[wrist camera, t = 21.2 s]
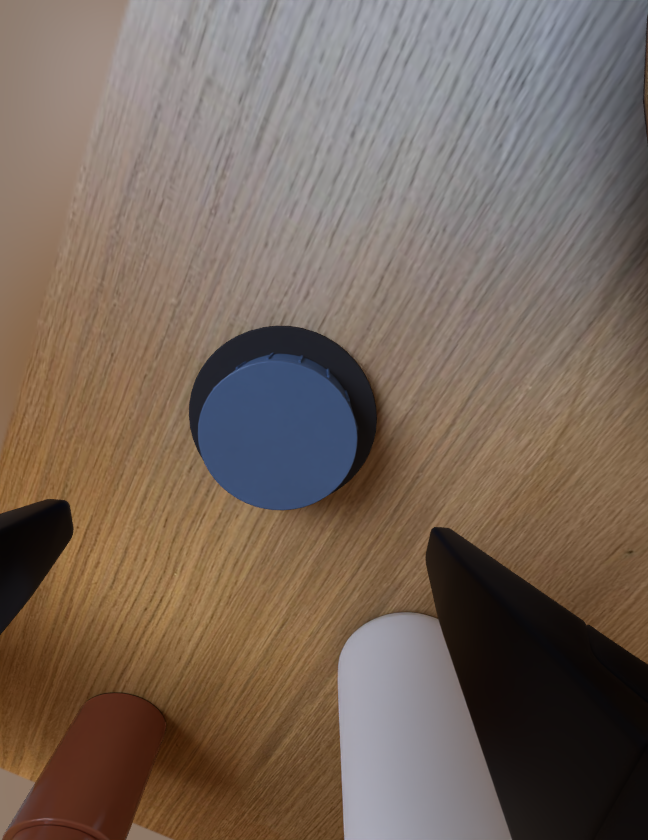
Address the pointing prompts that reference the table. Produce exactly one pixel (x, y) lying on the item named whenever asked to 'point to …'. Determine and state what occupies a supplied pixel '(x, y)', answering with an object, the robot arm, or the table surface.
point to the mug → (410, 739)
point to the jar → (94, 773)
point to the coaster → (296, 344)
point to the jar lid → (278, 432)
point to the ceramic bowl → (646, 83)
